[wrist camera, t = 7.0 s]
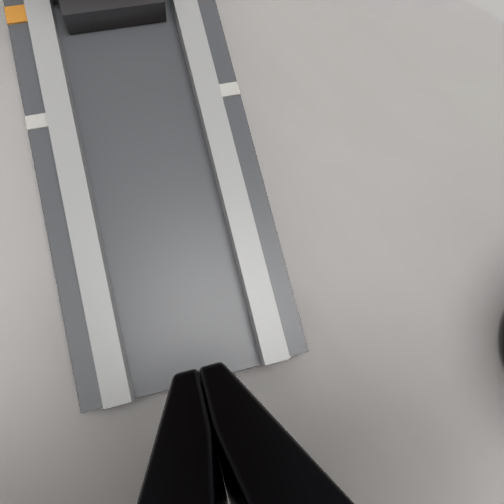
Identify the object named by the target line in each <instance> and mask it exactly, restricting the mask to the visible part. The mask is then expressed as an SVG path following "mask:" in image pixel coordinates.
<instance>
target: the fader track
mask: <svg viewBox="0 0 504 504" xmlns="http://www.w3.org/2000/svg"><path fill="white" fill-rule="evenodd" d="M3 1H4V6H5V7H4V9H5V15H6V20H7V24H8V28H9V33H10V38H11V44H12V49H13V54H14V60H15V65H16V70H17V75H18V81H19V86H20V91H21V97H22V102H23V107H24V113H25V121H26V127H27V130H28V134H29V139H30V145H31V150H32V155H33V161H34V166H35V171H36V177H37V182H38V187H39V193H40V198H41V203H42V209H43V214H44V219H45V225H46V230H47V235H48V241H49V246H50V251H51V257H52V262H53V267H54V273H55V278H56V283H57V289H58V294H59V299H60V305H61V310H62V315H63V321H64V326H65V331H66V337H67V342H68V347H69V352H70V358H71V363H72V368H73V374H74V379H75V384H76V390H77V395H78V400H79V406H80V411H81V413H84V412H88V411H92V410H95V409H99V408H103V410H104V409H107V408H111V407H115V406H118V405H122V404H126V403H129V402H132V401H133V400H134V399H136V398H140V397H143V396H147V395H151V394H154V393H158V392H162V391H165V390H169V388H170V385H171V381H172V378H173V376H174V375H175V374H177V373H180V372H184V371H188V370H191V369H197V370H198V372H199V370H200V368H201V367H203V366H206V365H210V364H214V363H218V362H221V363H223V364H225V365H226V366H227V367H228V368H229V370H230V371H231V372H236V371H239V370H243V369H247V368H250V367H254V366H258V365H265V366H266V365H269V364H273V363H277V362H280V361H284V360H288V359H290V357H291V356H295V355H298V354H302V353H306V352H309V351H308V347H307V343H306V339H305V336H304V332H303V328H302V324H301V321H300V317H299V313H298V309H297V306H296V302H295V298H294V294H293V291H292V287H291V283H290V279H289V276H288V272H287V268H286V264H285V261H284V257H283V253H282V249H281V246H280V242H279V238H278V234H277V231H276V227H275V223H274V219H273V216H272V212H271V208H270V204H269V201H268V197H267V193H266V189H265V186H264V182H263V178H262V174H261V171H260V167H259V163H258V159H257V156H256V152H255V148H254V144H253V141H252V137H251V133H250V129H249V126H248V122H247V118H246V114H245V111H244V107H243V103H242V99H241V96H240V90H239V86H238V82H237V81H236V77H235V73H234V70H233V66H232V62H231V58H230V55H229V51H228V47H227V43H226V40H225V36H224V32H223V28H222V25H221V21H220V17H219V13H218V10H217V6H216V2H215V0H165V7H166V21H163V22H156V23H149V24H141V25H134V26H127V27H120V28H112V29H105V30H98V31H91V32H83V33H76V34H69V32H68V30H67V27H66V25H65V22H64V19H63V17H62V13H61V8H60V3H59V0H3ZM199 375H200V374H199Z"/></svg>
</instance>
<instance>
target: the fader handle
mask: <svg viewBox="0 0 504 504" xmlns="http://www.w3.org/2000/svg"><path fill="white" fill-rule="evenodd" d="M59 3H60V8H61V13H62V17H63V19H64V22H65V25H66V27H67V30H68V32H69V34H76V33H83V32H91V31H98V30H105V29H112V28H120V27H127V26H134V25H141V24H149V23H156V22H163V21H166V7H165V0H59Z"/></svg>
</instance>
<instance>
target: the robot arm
mask: <svg viewBox="0 0 504 504" xmlns="http://www.w3.org/2000/svg"><path fill="white" fill-rule="evenodd" d="M199 374H200V375H199ZM219 461H220V462H219ZM221 470H222V471H221ZM222 474H223V475H222ZM223 479H224V480H223ZM224 483H225V485H224ZM225 487H226V490H227V494H228V498H229V501H230V504H354V503H353V502H352V501H351V500H350V499H349V498H348V496H347V495H346V494H345V493H344V492H343V491H342V490H341V489H340V488H339V487H338V486H337V485H336V484H335V482H334V481H333V480H332V479H331V478H330V477H329V476H328V475H327V474H326V473H325V472H324V471H323V470H322V468H321V467H320V466H319V465H318V464H317V463H316V462H315V461H314V460H313V459H312V458H311V457H310V456H309V455H308V453H307V452H306V451H305V450H304V449H303V448H302V447H301V446H300V445H299V444H298V443H297V442H296V441H295V439H294V438H293V437H292V436H291V435H290V434H289V433H288V432H287V431H286V430H285V429H284V428H283V427H282V425H281V424H280V423H279V422H278V421H277V420H276V419H275V418H274V417H273V416H272V415H271V414H270V413H269V411H268V410H267V409H266V408H265V407H264V406H263V405H262V404H261V403H260V402H259V401H258V400H257V399H256V397H255V396H254V395H253V394H252V393H251V392H250V391H249V390H248V389H247V388H246V387H245V386H244V385H243V383H242V382H241V381H240V380H239V379H238V378H237V377H236V376H235V375H234V374H233V373H232V372H231V371H230V370H229V368H228V367H227V366H226V365H225V364H223V363H221V362H218V363H214V364H210V365H206V366H203V367H201V368H200V370H199V372H198V370H197V369H191V370H188V371H184V372H180V373H177V374H175V375H174V376H173V378H172V381H171V385H170V388H169V392H168V396H167V399H166V403H165V406H164V410H163V413H162V417H161V420H160V424H159V427H158V431H157V435H156V438H155V442H154V445H153V449H152V452H151V456H150V459H149V463H148V466H147V470H146V473H145V477H144V481H143V484H142V488H141V491H140V495H139V498H138V502H137V504H228V500H227V495H226V490H225Z"/></svg>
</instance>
